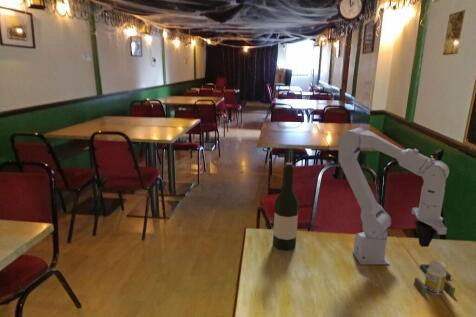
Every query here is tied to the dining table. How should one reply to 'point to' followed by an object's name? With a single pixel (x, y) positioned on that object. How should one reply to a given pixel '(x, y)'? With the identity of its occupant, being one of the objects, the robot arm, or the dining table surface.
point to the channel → (423, 288)
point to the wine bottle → (286, 213)
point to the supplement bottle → (435, 277)
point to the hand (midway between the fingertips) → (423, 245)
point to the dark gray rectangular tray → (425, 266)
